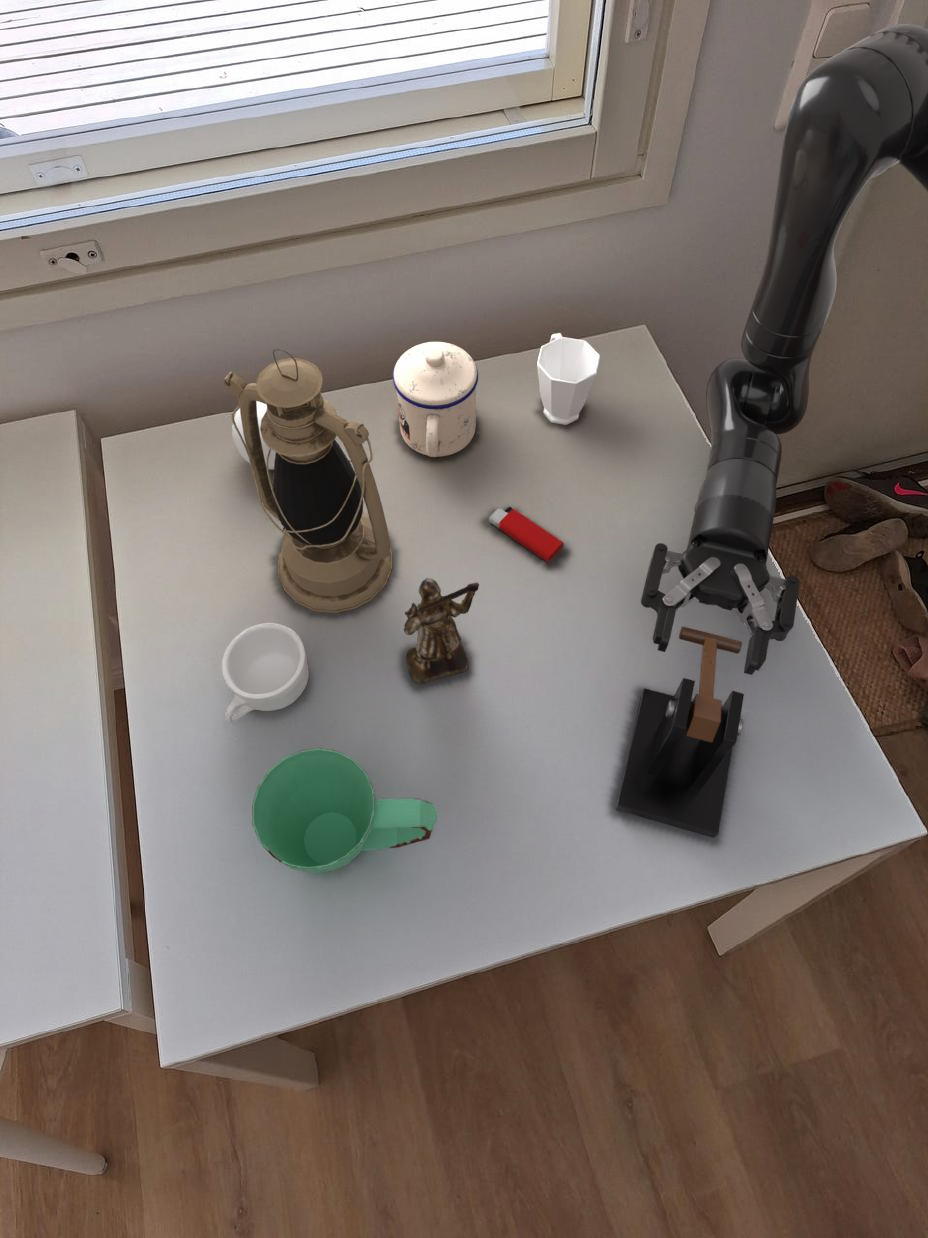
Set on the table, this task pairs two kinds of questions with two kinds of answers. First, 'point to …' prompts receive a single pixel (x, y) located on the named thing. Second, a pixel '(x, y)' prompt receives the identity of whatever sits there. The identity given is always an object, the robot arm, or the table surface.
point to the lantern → (315, 488)
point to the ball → (240, 447)
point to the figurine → (437, 632)
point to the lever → (706, 684)
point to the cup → (565, 377)
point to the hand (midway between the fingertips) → (706, 659)
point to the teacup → (264, 669)
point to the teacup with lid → (436, 398)
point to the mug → (331, 813)
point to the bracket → (678, 762)
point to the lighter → (526, 533)
